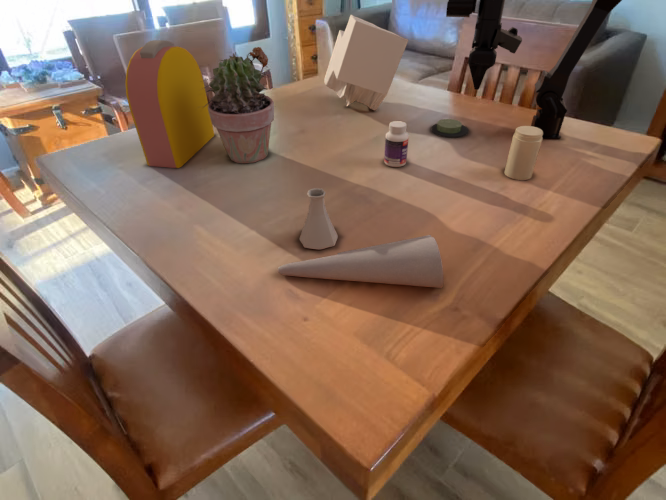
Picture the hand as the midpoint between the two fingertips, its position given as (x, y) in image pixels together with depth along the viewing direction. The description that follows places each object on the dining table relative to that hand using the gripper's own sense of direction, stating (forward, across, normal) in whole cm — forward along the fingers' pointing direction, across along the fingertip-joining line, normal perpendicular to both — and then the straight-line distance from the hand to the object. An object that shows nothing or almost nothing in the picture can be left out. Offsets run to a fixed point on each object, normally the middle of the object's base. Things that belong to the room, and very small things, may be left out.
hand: (477, 84), depth 113 cm
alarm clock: (+12, -33, +72) cm, 80 cm away
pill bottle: (+12, -27, +16) cm, 34 cm away
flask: (+12, -62, +24) cm, 67 cm away
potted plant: (+12, -33, +54) cm, 64 cm away
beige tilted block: (+12, +11, +34) cm, 38 cm away
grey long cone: (+12, -72, +14) cm, 74 cm away
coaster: (+12, -4, +5) cm, 14 cm away
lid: (+10, -4, +6) cm, 12 cm away
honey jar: (+12, -26, -12) cm, 31 cm away
